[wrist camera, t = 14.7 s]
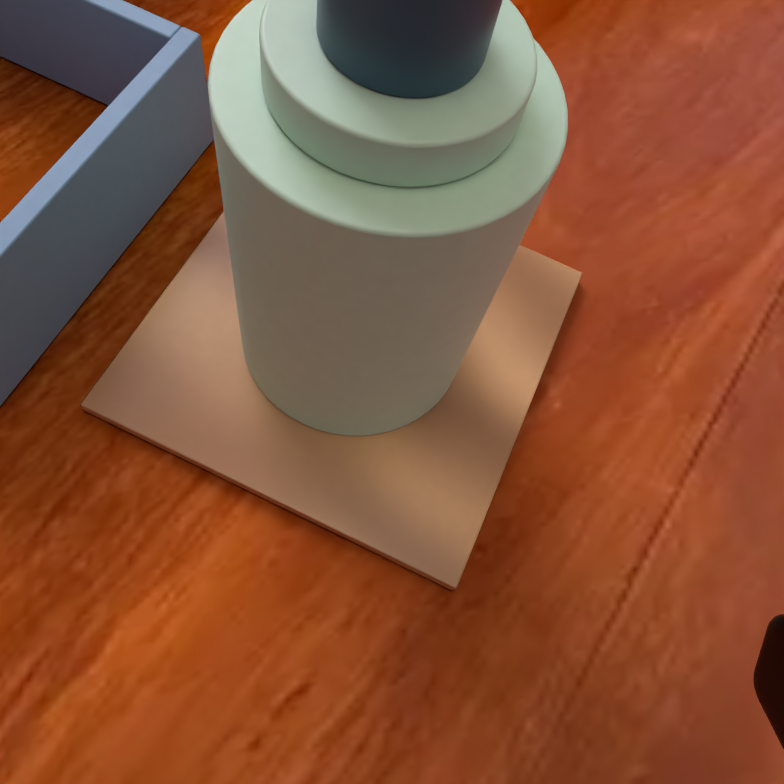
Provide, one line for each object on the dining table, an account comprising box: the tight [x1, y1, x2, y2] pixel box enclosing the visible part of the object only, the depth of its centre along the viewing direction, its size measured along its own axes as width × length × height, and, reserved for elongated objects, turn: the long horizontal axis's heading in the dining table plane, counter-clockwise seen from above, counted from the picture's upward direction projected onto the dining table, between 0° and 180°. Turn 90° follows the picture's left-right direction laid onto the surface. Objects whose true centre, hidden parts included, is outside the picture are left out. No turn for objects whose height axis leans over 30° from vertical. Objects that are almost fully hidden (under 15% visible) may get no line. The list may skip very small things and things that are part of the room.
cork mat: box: [80, 211, 582, 590], centre depth 21 cm, size 11×11×1 cm
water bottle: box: [208, 0, 568, 436], centre depth 15 cm, size 6×6×12 cm
